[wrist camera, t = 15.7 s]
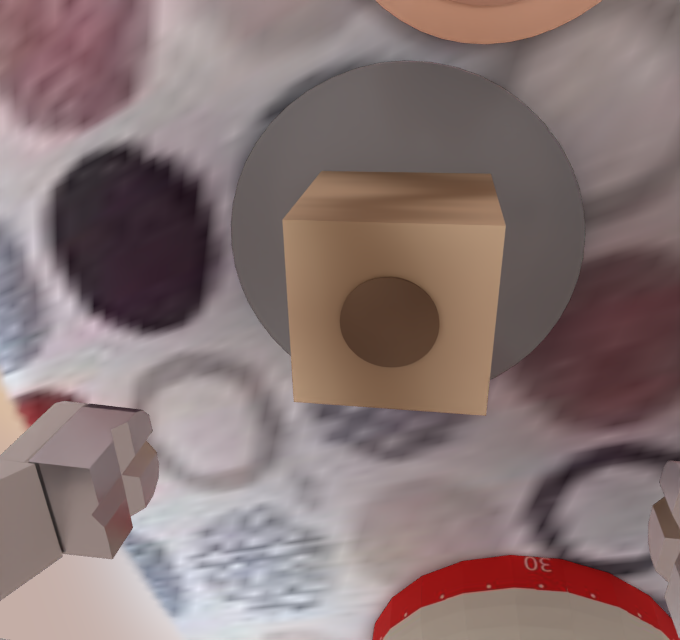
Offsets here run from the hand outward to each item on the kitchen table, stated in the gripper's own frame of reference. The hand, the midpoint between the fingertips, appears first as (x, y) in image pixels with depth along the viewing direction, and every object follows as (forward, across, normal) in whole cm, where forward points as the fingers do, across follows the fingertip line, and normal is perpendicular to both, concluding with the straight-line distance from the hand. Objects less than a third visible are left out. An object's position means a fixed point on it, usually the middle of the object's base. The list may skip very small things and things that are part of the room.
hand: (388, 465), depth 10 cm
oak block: (+10, +1, 0) cm, 11 cm away
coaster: (+11, +1, 0) cm, 11 cm away
